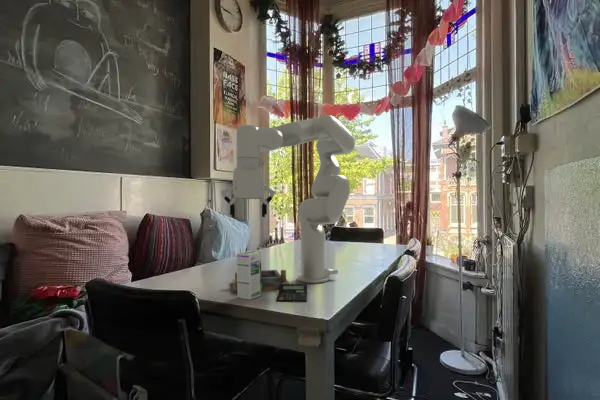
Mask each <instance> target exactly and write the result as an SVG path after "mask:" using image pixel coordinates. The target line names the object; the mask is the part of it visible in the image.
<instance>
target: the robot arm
mask: <svg viewBox="0 0 600 400" xmlns="http://www.w3.org/2000/svg"><path fill="white" fill-rule="evenodd" d="M314 141H316V145H315V146H316V151H317V154H318V157H319V163H320V164H319V165H320V166H319V168H318V170H317V173H316V176H315V178H314V181H313V183H312V185H311V189H310V192H311V195H312V196H313V198H307V199H304V200H303V201H301V202H300V204H299V205H298V208H297V209H298V210H297V213H298V218H299V223H300V255H301V256H300V258H301V259H300V260H301V262H300V265H301V267H300V269H301V270H300V271H301V272H300V274H298V275H297V278H296V279H297V281H299V282H302V283H306V284H308V283H309V284H310V283H311V284H317V283H318V284H319V283H326V282H328V281H330V279H331V277H330V276H331V275H337V274H338V273H339V270H338V269H336V268H334V269H333V268H328V267H327V266H326V265H327V264H326V259H327V258H326V231H325V228H324V226H323V225H322V224H325V225H333V224H336V223H337V222H339V221H340V219H341V217H342V214H343V212H344V209H345V207H346V204H347V201H348V199H349V196H350V192H351V183H350V181H349V179H348V178H347V177H346V176H345V175H341V174H340V173H341V167H340V164H339V162H338V159H337V158H336V156H338V155H346V154H349V153H351V152H352V151H353V150H355V145H356V144H355V142H356V141H355V138H354V136H353V135H352V133H351V132H350V131H349V129H347V127H345V126H344V125H343V123H342V122H341V121H340V120H338V119H337V118H336V117H335V116H332V115H328V114H327V115H322V116H318V117H313V118H307V119H302V120H297V121H296V120H295V121H291V122H287V123H284V124H281V125H277V126H273V127H258V126H255V125H251V124H243V125H239V126H238V127H237V129H236V167H234V169H233V172H232V173H233V174H232V185H231V186H229V187H227V188H225V189H223V190H221V192H220V193H221V195H222V197H223V199H224V201H226V202H227V203H228V204H229V216H232V218H236V217H235V216H236V215H235V210H236V209H235V207H236V205H235V202H236V201H237V200H260V202H262V204H261V217H262V218H266V215H267V211H268V207H267V205H268V204H269V203H270V202H272V200H273V199H274V196H275V194H276V191H275V190H273V189H271V188H269V187H267V186H265V181H264V180H265V179H264V172H263V168H261V166H265V161H264V160H262V159H261V153H264V152H270V151H271V152H272V151H276V150H278V149H280V148H286V147H293V146H299V145H303V144H307V143H310V142H314ZM229 192H231V193H232V194H231V195H232V198H231V199H230V198H229V197H228V195H227V194H228V193H229ZM265 192H267V193H269V196H268V197H266V198H265Z"/></svg>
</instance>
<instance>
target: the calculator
mask: <svg viewBox="0 0 600 400" xmlns="http://www.w3.org/2000/svg"><path fill="white" fill-rule="evenodd" d="M275 302H276V303H307V302H308V283H303V284H302V283H301V284H300V283H299V284H296V283H290V284H280V285H279V290H278V294H277V296H276V300H275Z"/></svg>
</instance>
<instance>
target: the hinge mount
mask: <svg viewBox="0 0 600 400" xmlns="http://www.w3.org/2000/svg"><path fill="white" fill-rule="evenodd" d="M261 277H262V292H269V291H273V292H274V291H279V285H280V284H291V283H290V282H289V280H288V279H287V269H281V270H280V273H279V271H278V270H277V269H265V270H264V269H263V270H262V269H261ZM232 292H233V294H237V271H235V272H234V278H233V279H232Z"/></svg>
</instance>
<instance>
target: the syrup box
mask: <svg viewBox="0 0 600 400" xmlns="http://www.w3.org/2000/svg"><path fill="white" fill-rule="evenodd" d="M261 270H262V252H261V251H258V250H257V251H256V250H247V251H243V252H238V253H236V272H237V293H236V294H237V298H240V299H243V300H244V299H245V300H249V301H250V300H254V299H256V298H259V297H261V296H263V291H262V277H261Z"/></svg>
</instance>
